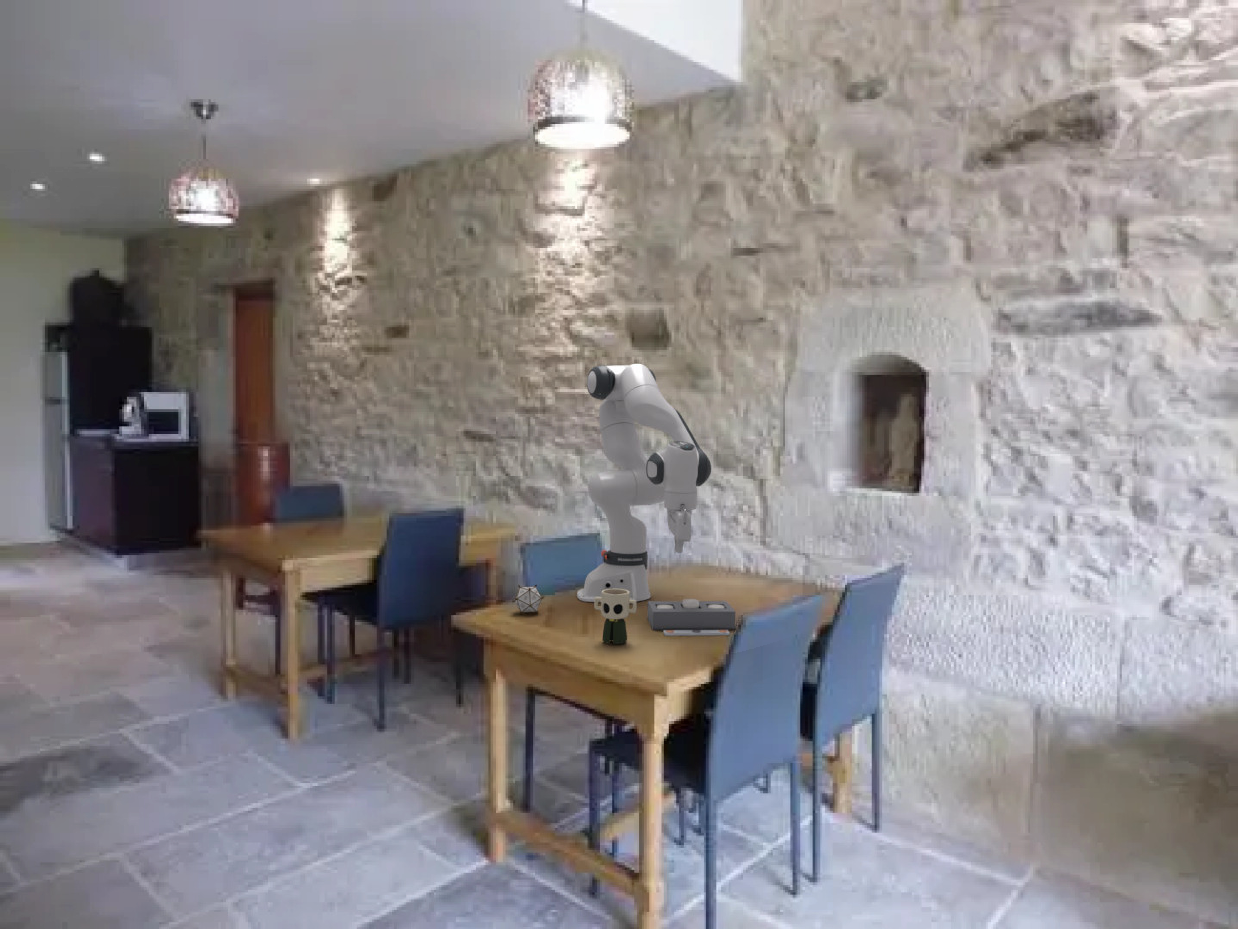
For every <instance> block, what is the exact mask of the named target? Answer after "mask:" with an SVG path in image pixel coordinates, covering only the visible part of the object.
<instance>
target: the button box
mask: <svg viewBox="0 0 1238 929" xmlns="http://www.w3.org/2000/svg"><path fill="white" fill-rule="evenodd" d="M658 605H671V606H673V609H657V606H658ZM709 605H723V606H724V608H708V606H709ZM646 618H647V621H648V624H649V626H650V627H651V630H652V631H663V630H728V631H735V630H736V610H735V609H734V608H733V607H732V606H731V604H729V602H728V601H727V600H699V608H691V609H683V600H665V601H664V600H658V601H657V600H647V617H646ZM734 629H735V630H734Z"/></svg>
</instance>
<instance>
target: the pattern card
mask: <svg viewBox="0 0 1238 929" xmlns="http://www.w3.org/2000/svg"><path fill="white" fill-rule="evenodd" d="M662 631H663V632H662V633H663V635H664V636H665V637H666V636H667V637H668V636H670V637H671V636H672V637H673V636H680V637H681V636H730V634H731V633H730V630H662Z"/></svg>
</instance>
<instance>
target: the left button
mask: <svg viewBox="0 0 1238 929" xmlns="http://www.w3.org/2000/svg"><path fill="white" fill-rule="evenodd" d="M657 609H673V606H671V605H658V606H657Z"/></svg>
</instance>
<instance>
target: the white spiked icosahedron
mask: <svg viewBox="0 0 1238 929" xmlns="http://www.w3.org/2000/svg"><path fill="white" fill-rule="evenodd" d="M537 586H538V584H535V585H534V586H520V585H519V584H518V586H517V587H518V590H517V594H516V597H514V599H513V600H511V602H512V603H515V605H516V607H517V608H518V610H519V613H518V615H519V614H520V615H522V613H535V614H537V615H539V612H538V610H539V607H540V604H541V601H542V600H543V599H545V597H544V596H542V595H541V594H540V592H539V591H538V589H537Z"/></svg>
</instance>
